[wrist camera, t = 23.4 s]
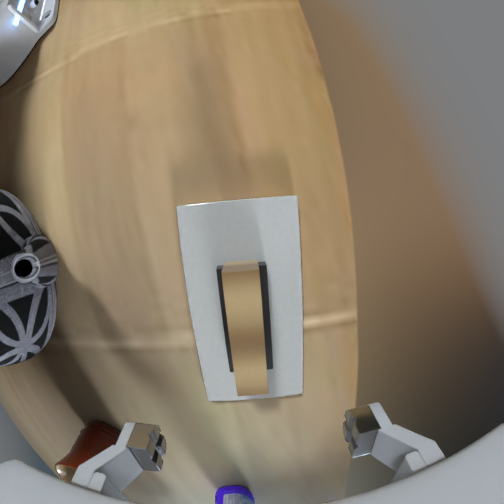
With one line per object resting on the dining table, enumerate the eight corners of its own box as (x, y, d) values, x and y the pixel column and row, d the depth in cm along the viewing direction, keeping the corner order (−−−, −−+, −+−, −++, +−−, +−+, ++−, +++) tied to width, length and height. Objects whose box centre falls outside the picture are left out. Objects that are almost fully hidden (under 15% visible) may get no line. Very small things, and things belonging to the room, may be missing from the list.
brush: (216, 259, 23) (211, 272, 19) (264, 255, 23) (269, 267, 19) (231, 369, 25) (229, 397, 21) (272, 366, 25) (276, 393, 21)
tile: (178, 205, 23) (175, 206, 22) (295, 195, 23) (297, 195, 22) (209, 395, 27) (208, 401, 26) (301, 388, 27) (302, 394, 26)
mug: (105, 409, 27) (75, 463, 17) (149, 449, 29) (131, 503, 19) (63, 422, 28) (35, 463, 18) (101, 457, 30) (81, 500, 20)
